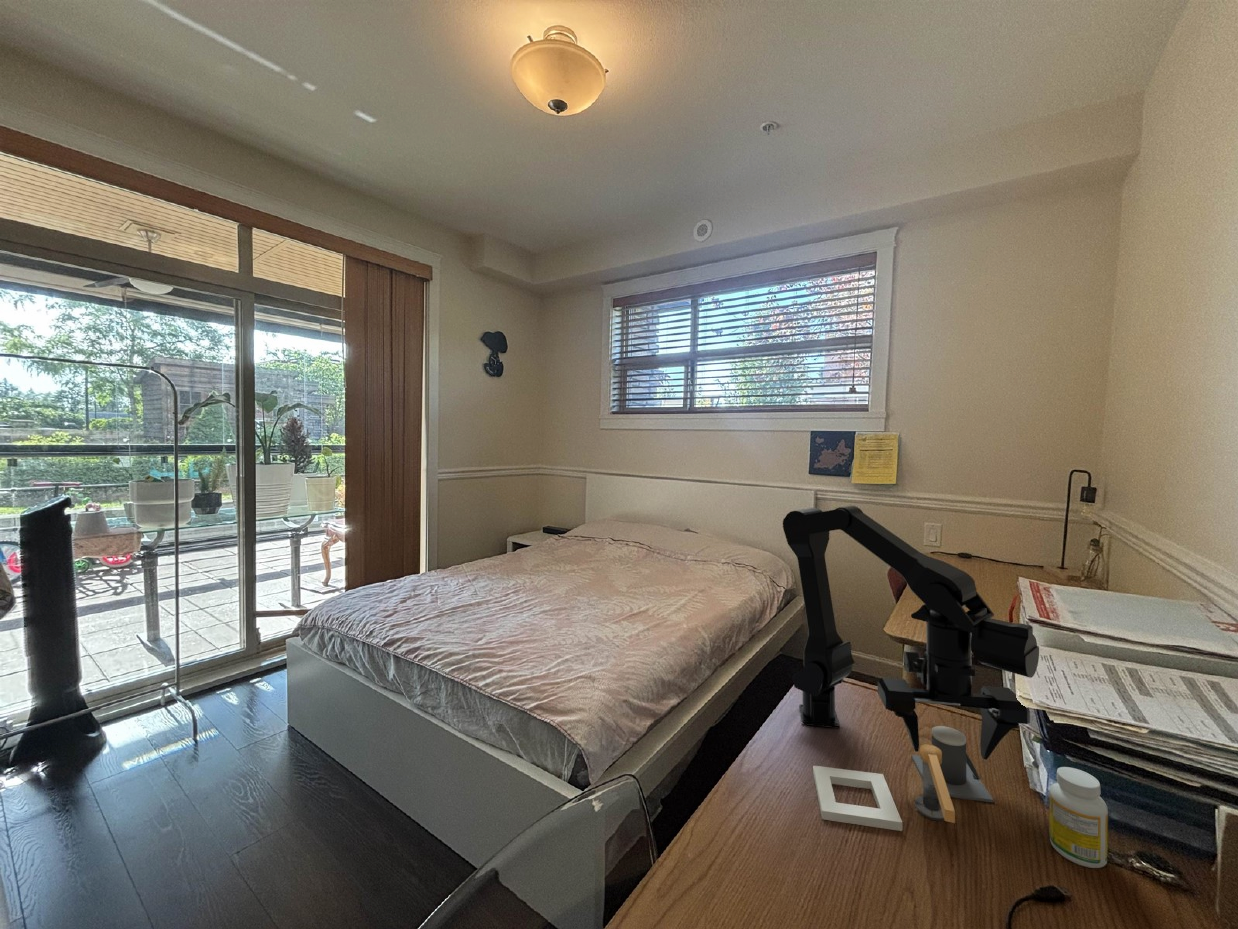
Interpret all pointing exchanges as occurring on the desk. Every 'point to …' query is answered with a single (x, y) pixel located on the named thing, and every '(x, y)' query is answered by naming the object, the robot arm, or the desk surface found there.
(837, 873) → the desk surface
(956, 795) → the mat
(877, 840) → the desk surface
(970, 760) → the black pen
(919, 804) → the post
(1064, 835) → the supplement bottle
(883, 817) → the socket block
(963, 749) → the plug
